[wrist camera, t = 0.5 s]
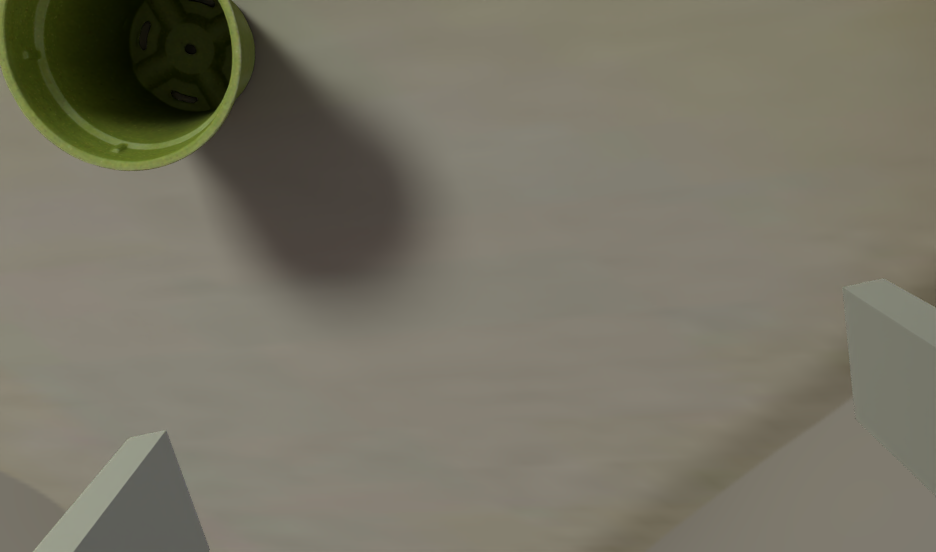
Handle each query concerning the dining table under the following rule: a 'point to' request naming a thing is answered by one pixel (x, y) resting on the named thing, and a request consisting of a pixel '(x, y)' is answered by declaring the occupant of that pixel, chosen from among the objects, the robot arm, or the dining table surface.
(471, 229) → the dining table surface
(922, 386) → the robot arm
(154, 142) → the plant pot
